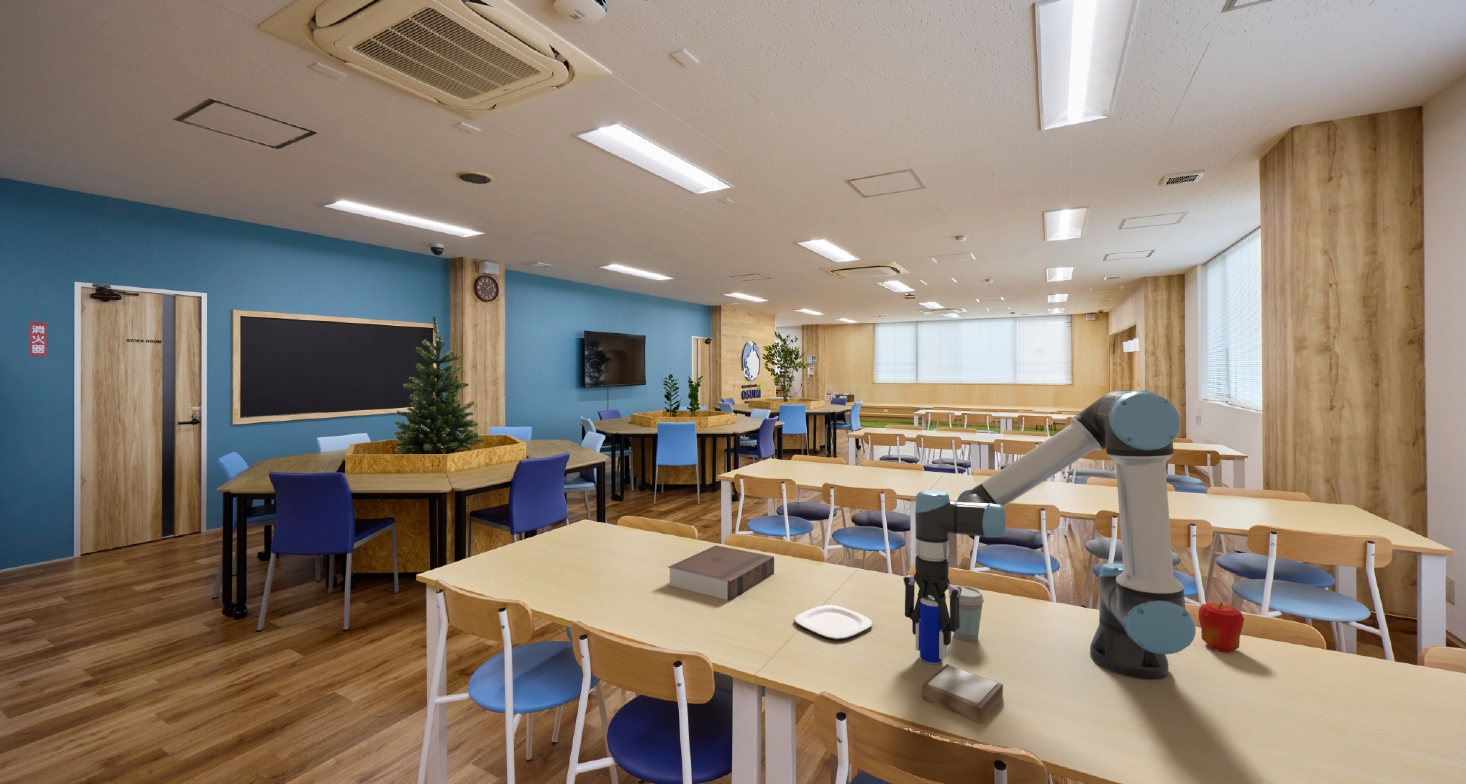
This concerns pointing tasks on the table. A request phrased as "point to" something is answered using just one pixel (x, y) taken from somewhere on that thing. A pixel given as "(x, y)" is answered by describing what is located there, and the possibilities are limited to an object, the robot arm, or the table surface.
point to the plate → (833, 621)
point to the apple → (1221, 626)
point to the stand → (963, 692)
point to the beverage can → (929, 630)
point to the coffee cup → (969, 613)
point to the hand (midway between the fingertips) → (931, 652)
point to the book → (721, 572)
